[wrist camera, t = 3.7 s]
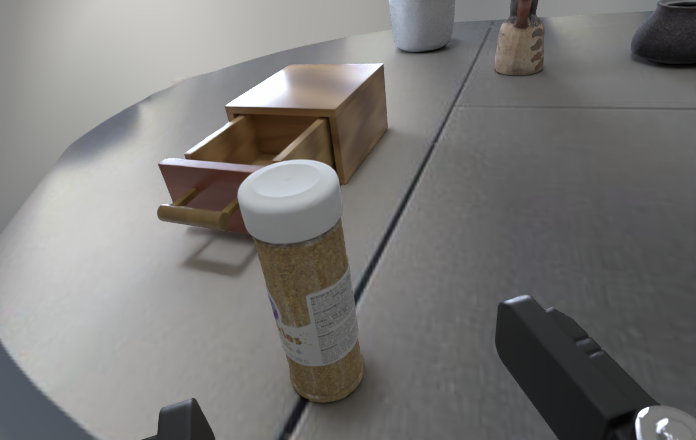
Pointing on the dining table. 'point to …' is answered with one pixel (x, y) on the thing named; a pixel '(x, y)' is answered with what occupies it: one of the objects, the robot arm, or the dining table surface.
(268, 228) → the sprinkles bottle
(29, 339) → the dining table surface
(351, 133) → the cabinet
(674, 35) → the teapot
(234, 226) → the drawer
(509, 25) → the figurine
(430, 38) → the planter
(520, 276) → the dining table surface
